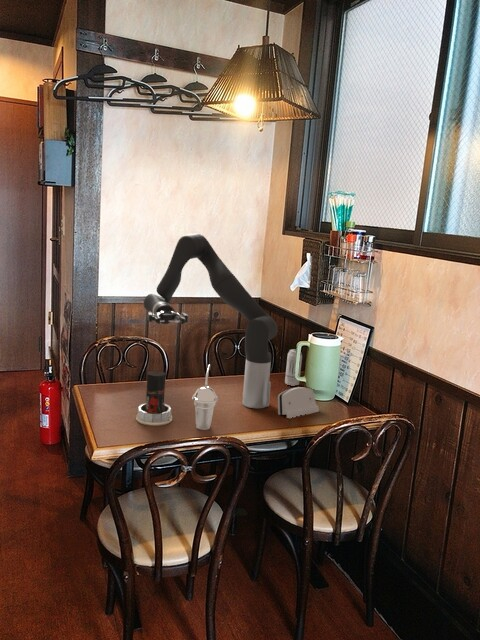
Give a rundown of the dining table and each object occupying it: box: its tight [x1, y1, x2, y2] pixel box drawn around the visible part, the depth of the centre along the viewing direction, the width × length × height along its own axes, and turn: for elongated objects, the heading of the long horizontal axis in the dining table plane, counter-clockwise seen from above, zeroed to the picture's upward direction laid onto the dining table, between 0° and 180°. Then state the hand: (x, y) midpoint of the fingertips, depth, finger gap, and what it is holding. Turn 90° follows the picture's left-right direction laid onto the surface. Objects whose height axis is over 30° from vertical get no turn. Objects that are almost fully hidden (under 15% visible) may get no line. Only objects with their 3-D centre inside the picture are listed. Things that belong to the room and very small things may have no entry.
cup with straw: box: [191, 364, 219, 431], centre depth 176 cm, size 8×9×20 cm
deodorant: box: [145, 370, 167, 413], centre depth 180 cm, size 6×6×15 cm
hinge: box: [277, 386, 320, 419], centre depth 198 cm, size 17×5×10 cm, turn 128°
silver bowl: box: [135, 402, 173, 427], centre depth 181 cm, size 12×12×4 cm
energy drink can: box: [284, 348, 303, 386], centre depth 228 cm, size 6×6×15 cm
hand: (171, 321), depth 192 cm, fingers open, 8 cm apart
